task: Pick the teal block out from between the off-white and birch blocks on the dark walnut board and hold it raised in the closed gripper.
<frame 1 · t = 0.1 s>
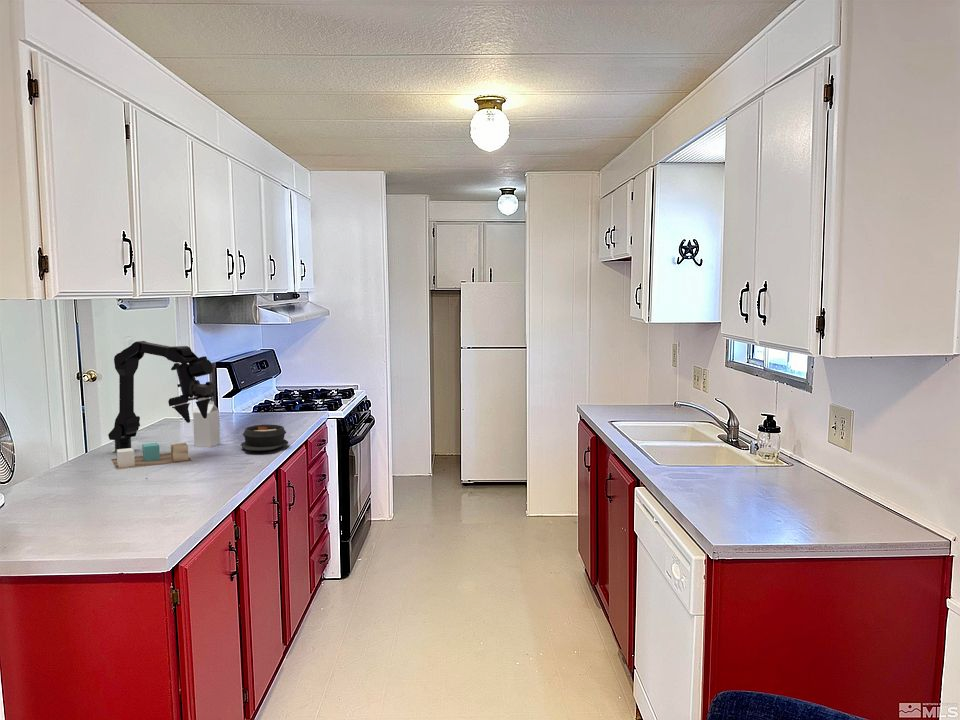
hand: (197, 420, 265), 15 cm above the worktop, tool pointing down, fingers open, 9 cm apart
milk carton: (207, 448, 289), on the worktop
birch block: (179, 459, 265), point 1 cm above the worktop, touching walnut board
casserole: (264, 448, 290), on the worktop
off-white block: (126, 465, 255), point 1 cm above the worktop, touching walnut board
walnut board: (151, 463, 263), on the worktop
teal block: (151, 459, 264), point 1 cm above the worktop, touching walnut board
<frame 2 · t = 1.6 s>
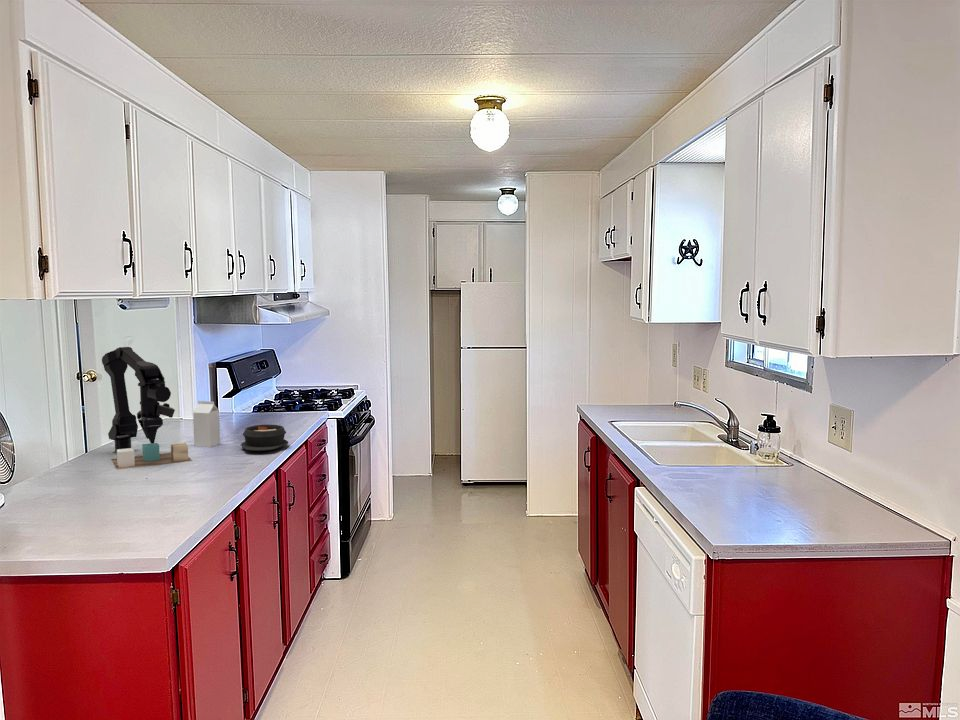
hand: (150, 440, 263), 8 cm above the worktop, tool pointing down, fingers open, 9 cm apart
nothing on the worktop moved.
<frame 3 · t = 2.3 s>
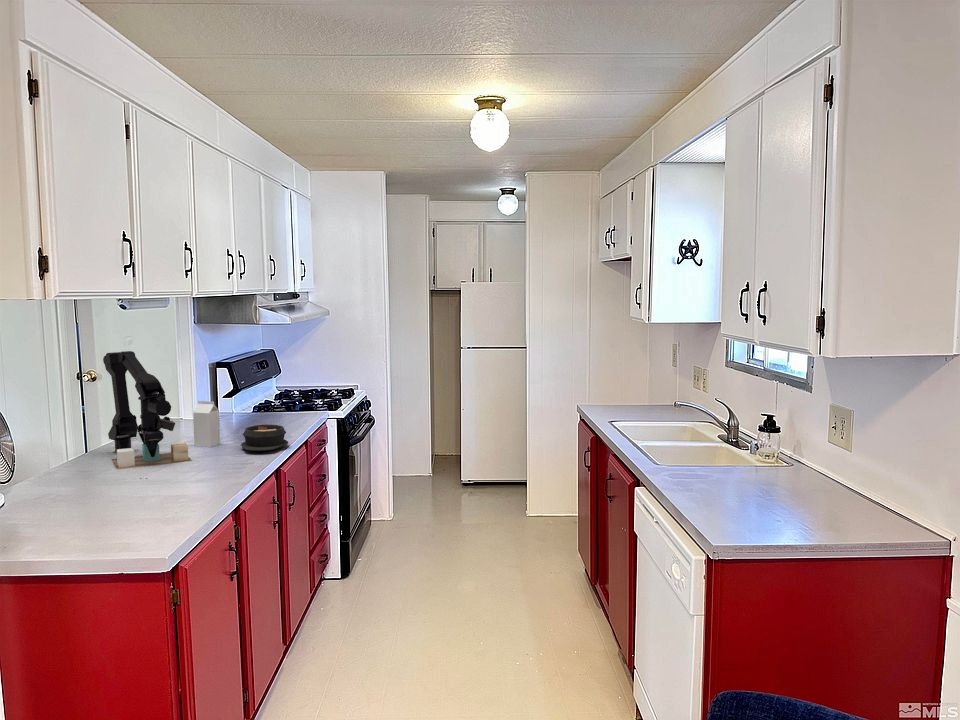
hand: (150, 454, 264), 3 cm above the worktop, tool pointing down, fingers open, 9 cm apart
nothing on the worktop moved.
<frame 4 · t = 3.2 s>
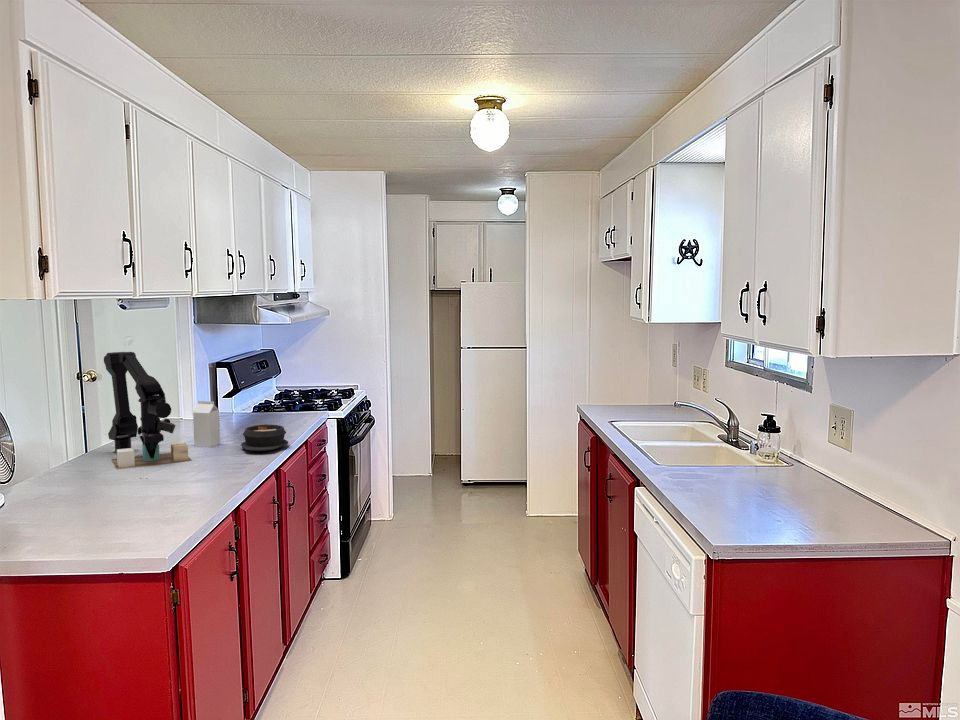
hand: (151, 456, 264), 2 cm above the worktop, tool pointing down, fingers closed on teal block, 5 cm apart
teal block: (151, 459, 264), point 1 cm above the worktop, touching gripper, walnut board
everything else where it was.
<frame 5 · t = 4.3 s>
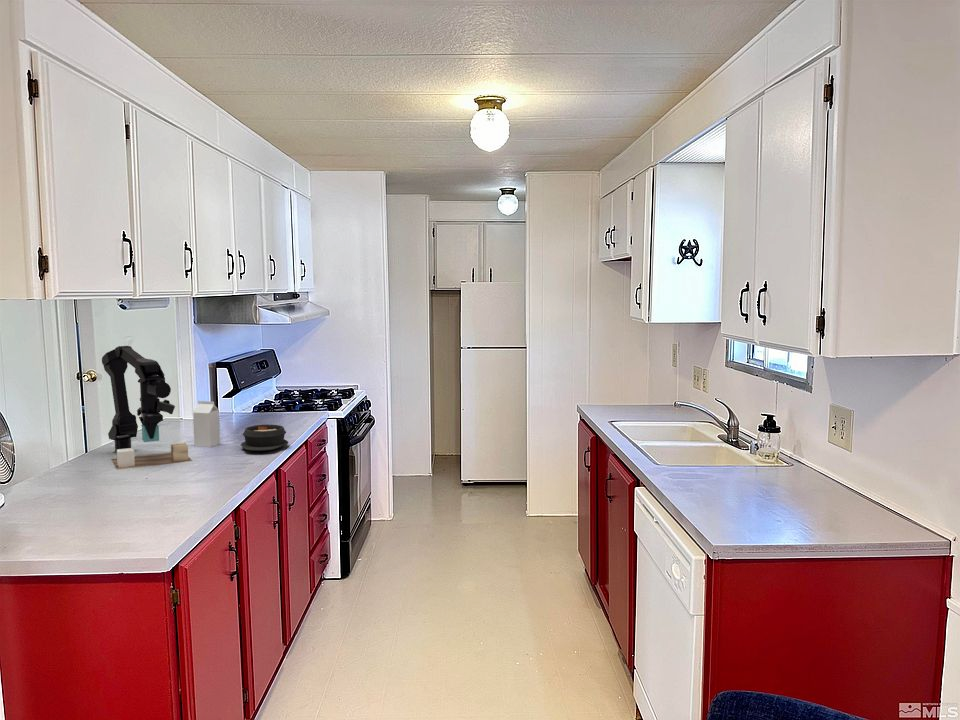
hand: (150, 437, 263), 9 cm above the worktop, tool pointing down, fingers closed on teal block, 5 cm apart
teal block: (150, 440, 263), point 8 cm above the worktop, touching gripper
everything else where it was.
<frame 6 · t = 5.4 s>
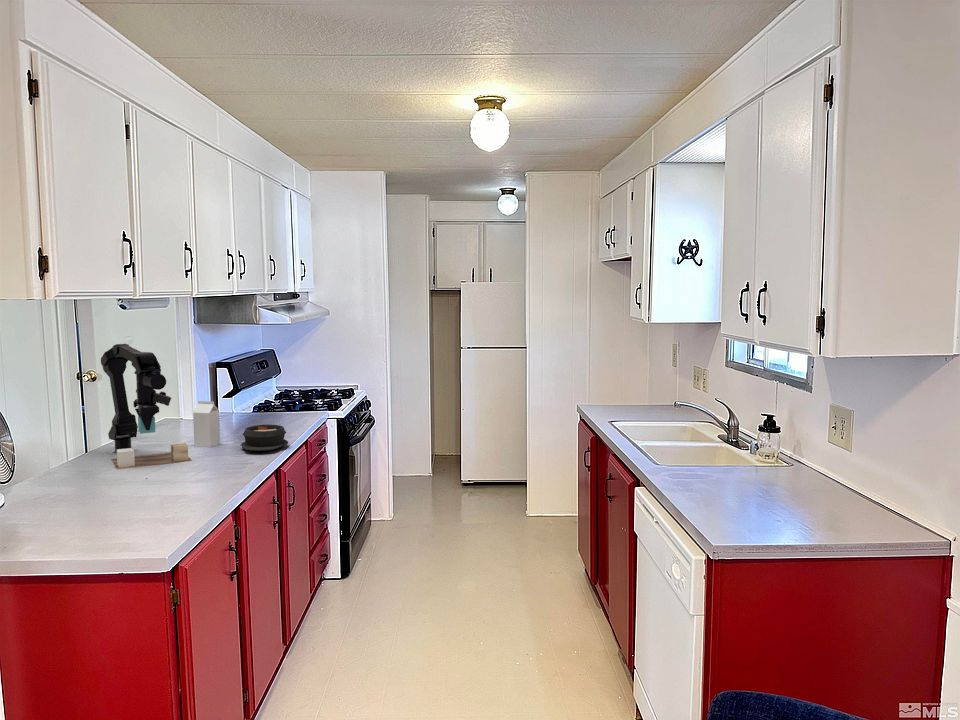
hand: (146, 429, 263), 12 cm above the worktop, tool pointing down, fingers closed on teal block, 5 cm apart
teal block: (146, 431, 263), point 11 cm above the worktop, touching gripper
everything else where it was.
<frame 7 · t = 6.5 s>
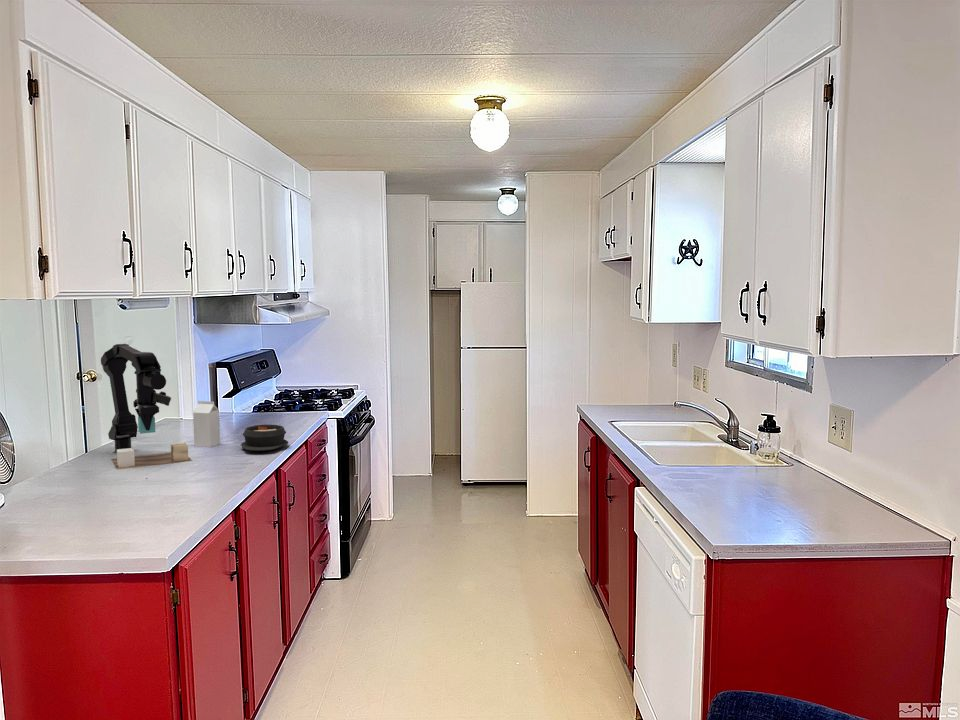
hand: (146, 429, 263), 12 cm above the worktop, tool pointing down, fingers closed on teal block, 5 cm apart
teal block: (146, 431, 263), point 11 cm above the worktop, touching gripper
everything else where it was.
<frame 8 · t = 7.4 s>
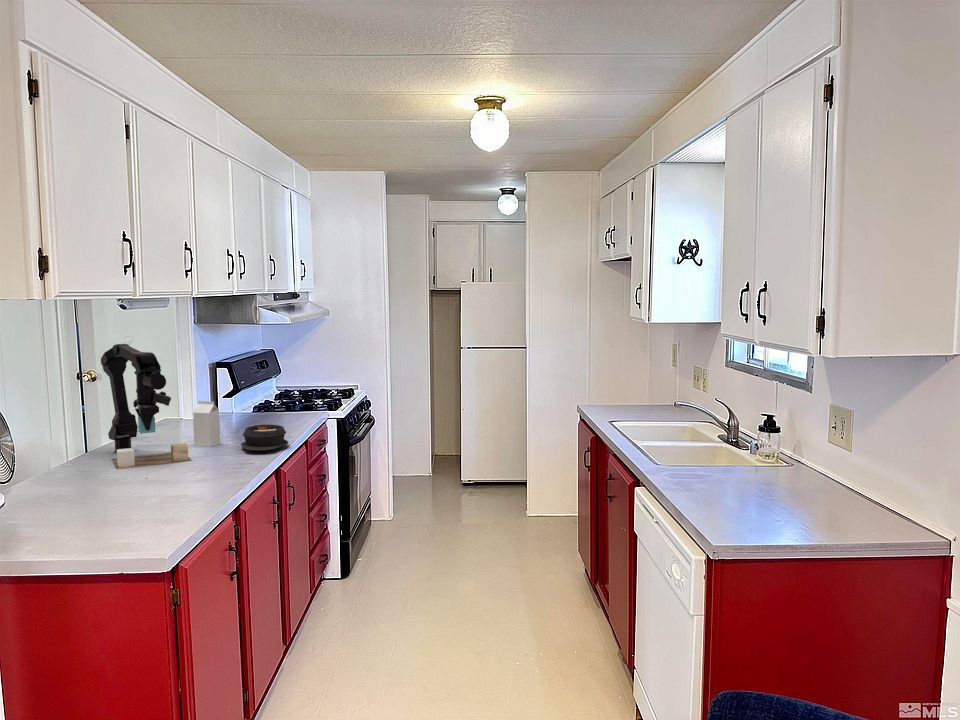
hand: (146, 429, 263), 12 cm above the worktop, tool pointing down, fingers closed on teal block, 5 cm apart
teal block: (146, 431, 263), point 11 cm above the worktop, touching gripper
everything else where it was.
at the end: teal block point 11.5 cm above the worktop; off-white block moved 0.0 cm from its start; birch block moved 0.0 cm from its start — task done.
